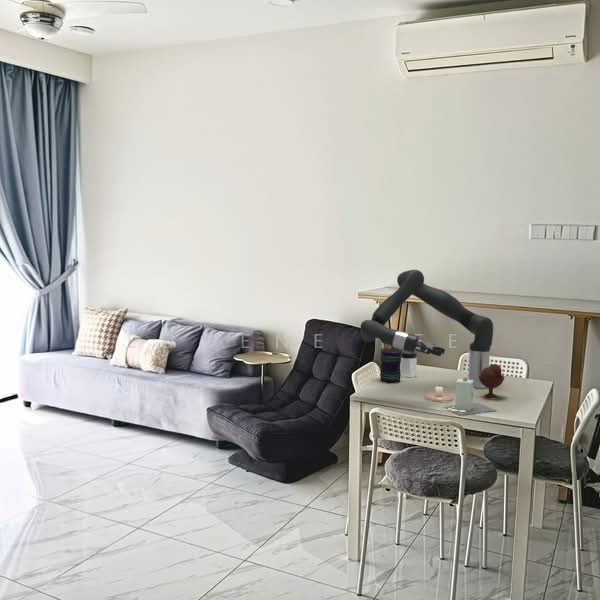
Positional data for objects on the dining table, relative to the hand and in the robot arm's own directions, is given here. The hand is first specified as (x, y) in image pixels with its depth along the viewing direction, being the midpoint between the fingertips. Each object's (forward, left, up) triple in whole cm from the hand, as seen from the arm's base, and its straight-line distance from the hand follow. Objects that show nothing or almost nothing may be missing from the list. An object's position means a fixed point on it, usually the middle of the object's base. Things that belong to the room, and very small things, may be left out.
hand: (442, 352), depth 281 cm
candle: (-6, -10, -22) cm, 25 cm away
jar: (-16, -52, -23) cm, 59 cm away
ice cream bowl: (-29, -4, -23) cm, 37 cm away
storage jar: (-2, -45, -23) cm, 51 cm away
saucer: (-6, -10, -23) cm, 26 cm away
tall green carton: (-6, +8, -22) cm, 24 cm away
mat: (-8, +9, -23) cm, 26 cm away
